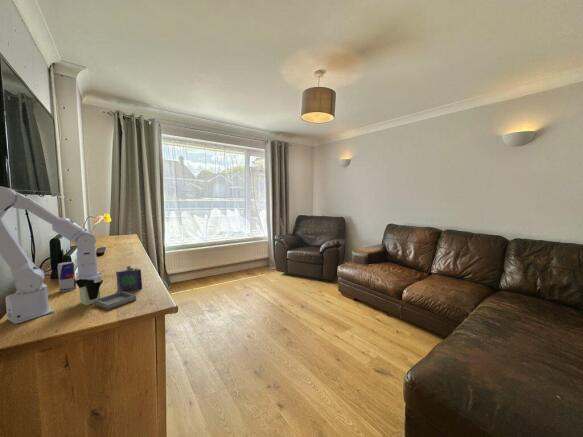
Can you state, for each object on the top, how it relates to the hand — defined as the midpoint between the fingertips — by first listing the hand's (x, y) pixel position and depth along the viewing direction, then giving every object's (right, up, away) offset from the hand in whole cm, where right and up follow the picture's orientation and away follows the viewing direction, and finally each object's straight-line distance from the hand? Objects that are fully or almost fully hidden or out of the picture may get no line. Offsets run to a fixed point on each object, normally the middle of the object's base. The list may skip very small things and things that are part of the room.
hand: (90, 297), depth 92 cm
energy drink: (-21, -1, +13) cm, 25 cm away
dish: (+11, -2, -1) cm, 11 cm away
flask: (+7, -1, +12) cm, 14 cm away
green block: (0, -2, 0) cm, 2 cm away
